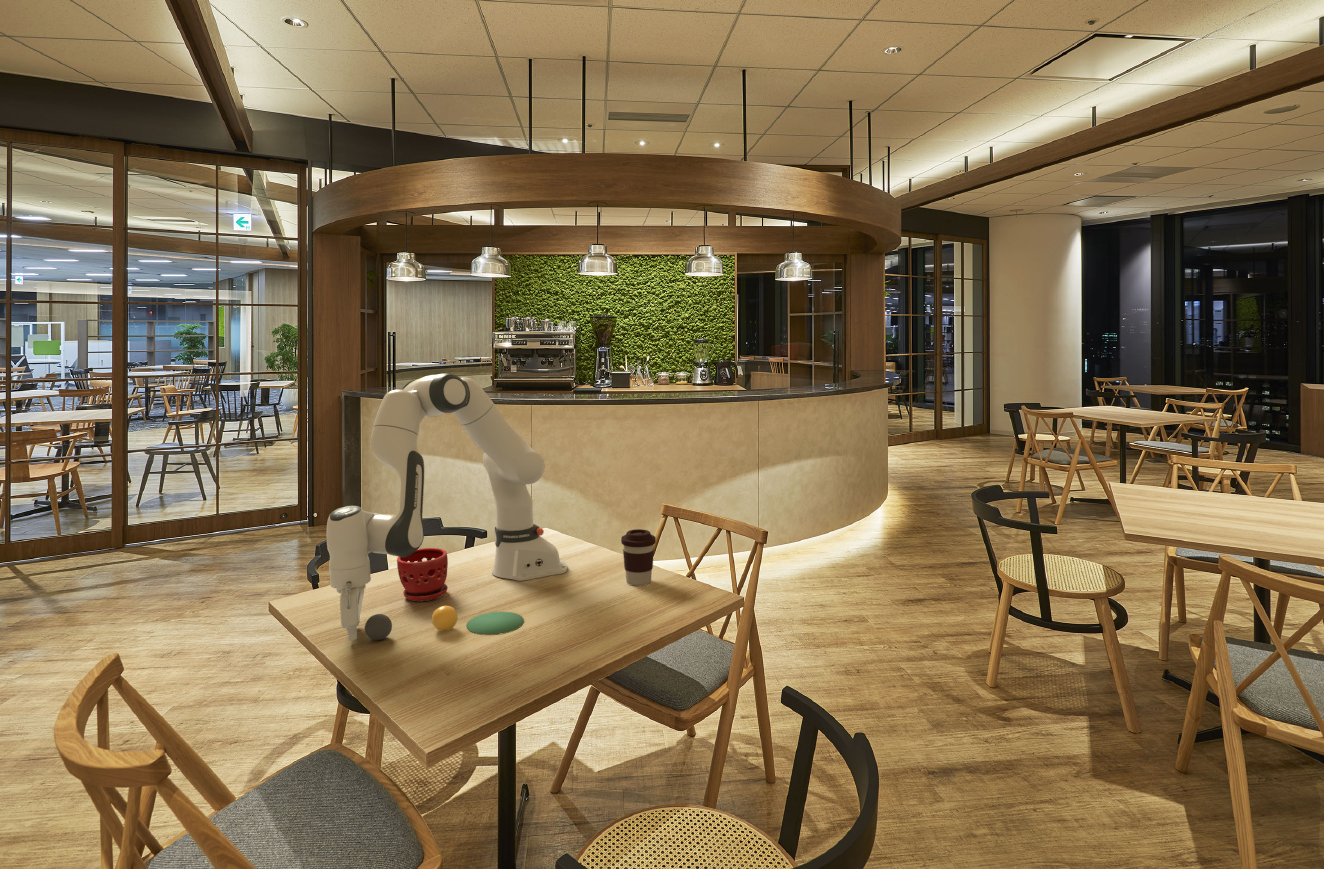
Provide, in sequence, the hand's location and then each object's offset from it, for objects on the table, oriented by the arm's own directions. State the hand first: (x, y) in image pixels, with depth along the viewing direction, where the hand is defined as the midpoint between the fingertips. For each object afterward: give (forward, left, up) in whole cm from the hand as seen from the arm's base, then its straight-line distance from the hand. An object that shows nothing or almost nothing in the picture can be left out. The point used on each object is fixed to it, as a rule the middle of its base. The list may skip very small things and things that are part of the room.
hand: (354, 631), depth 170 cm
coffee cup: (-75, -12, -1) cm, 76 cm away
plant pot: (-16, -22, -1) cm, 27 cm away
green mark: (-33, +4, -1) cm, 33 cm away
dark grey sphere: (-5, +4, +2) cm, 7 cm away
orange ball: (-21, +4, +2) cm, 21 cm away
